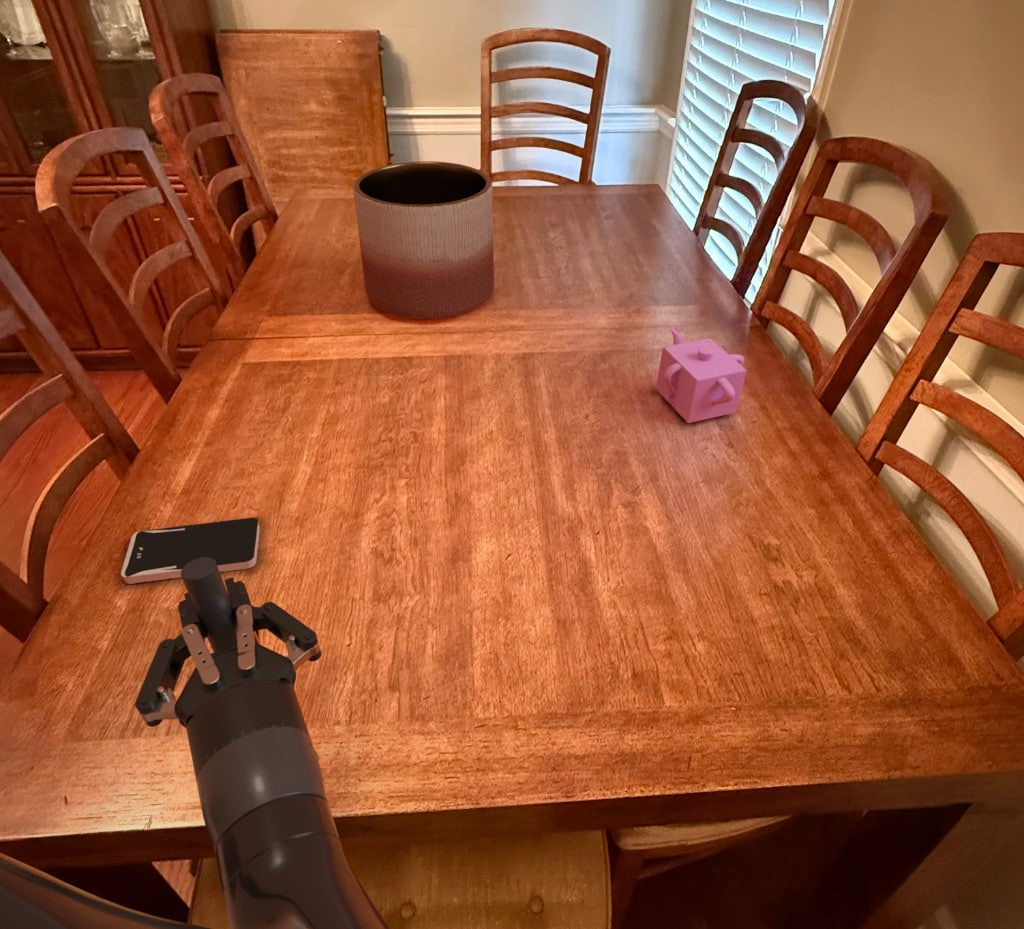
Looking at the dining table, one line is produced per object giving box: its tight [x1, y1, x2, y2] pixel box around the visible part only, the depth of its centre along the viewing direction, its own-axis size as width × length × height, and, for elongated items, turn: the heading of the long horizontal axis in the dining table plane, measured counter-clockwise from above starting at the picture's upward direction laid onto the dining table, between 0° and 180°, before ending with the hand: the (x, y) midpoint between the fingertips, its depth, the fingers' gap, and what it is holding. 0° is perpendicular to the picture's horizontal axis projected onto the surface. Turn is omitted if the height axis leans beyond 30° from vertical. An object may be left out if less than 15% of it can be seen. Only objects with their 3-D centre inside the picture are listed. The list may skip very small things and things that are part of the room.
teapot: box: [655, 326, 748, 424], centre depth 108 cm, size 18×14×10 cm
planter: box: [352, 160, 495, 321], centre depth 132 cm, size 25×25×22 cm
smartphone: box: [120, 517, 261, 585], centre depth 85 cm, size 8×1×15 cm
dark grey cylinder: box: [181, 557, 237, 653], centre depth 57 cm, size 3×3×12 cm
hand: (211, 592), depth 58 cm, fingers closed on dark grey cylinder, 2 cm apart
